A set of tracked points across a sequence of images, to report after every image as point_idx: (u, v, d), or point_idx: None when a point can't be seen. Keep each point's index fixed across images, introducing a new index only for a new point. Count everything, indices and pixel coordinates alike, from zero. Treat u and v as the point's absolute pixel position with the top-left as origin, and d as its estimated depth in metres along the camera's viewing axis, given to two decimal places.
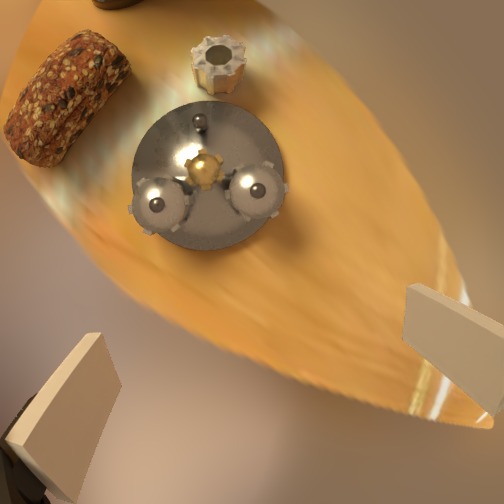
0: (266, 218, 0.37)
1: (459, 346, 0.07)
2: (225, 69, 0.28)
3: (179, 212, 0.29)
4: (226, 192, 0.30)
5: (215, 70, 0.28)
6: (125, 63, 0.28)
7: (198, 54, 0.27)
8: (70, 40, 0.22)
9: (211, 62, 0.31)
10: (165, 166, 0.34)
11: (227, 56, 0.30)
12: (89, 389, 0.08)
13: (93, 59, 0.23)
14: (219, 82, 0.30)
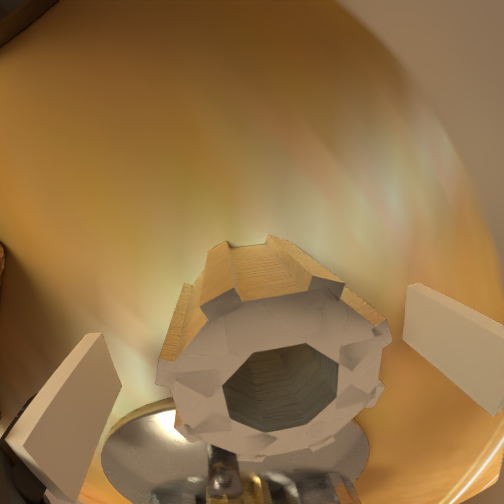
0: None
1: (459, 346, 0.07)
2: (305, 437, 0.08)
3: None
4: None
5: (269, 444, 0.07)
6: None
7: (193, 394, 0.07)
8: None
9: None
10: (163, 483, 0.14)
11: None
12: (89, 389, 0.08)
13: None
14: None
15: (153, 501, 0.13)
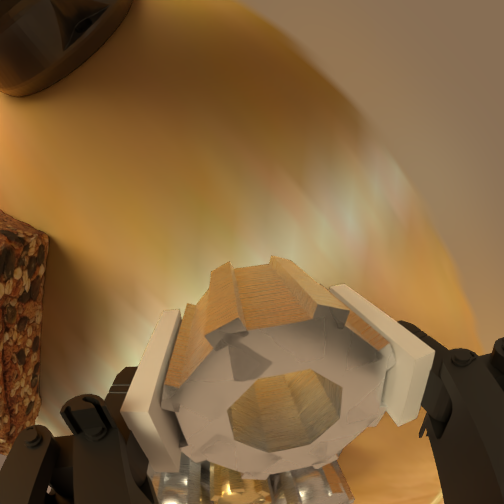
0: None
1: None
2: (308, 456, 0.07)
3: None
4: None
5: (273, 463, 0.07)
6: (23, 248, 0.12)
7: (198, 418, 0.06)
8: None
9: None
10: None
11: None
12: None
13: None
14: None
15: None
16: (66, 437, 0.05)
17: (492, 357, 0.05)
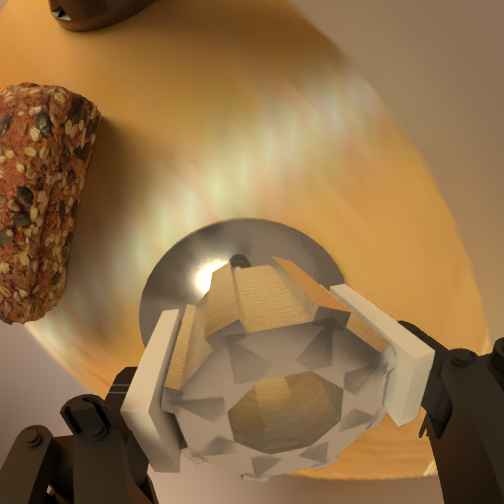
0: None
1: None
2: (309, 457, 0.07)
3: None
4: None
5: (274, 465, 0.07)
6: (89, 107, 0.17)
7: (198, 420, 0.06)
8: None
9: None
10: None
11: None
12: None
13: (33, 124, 0.13)
14: None
15: None
16: (66, 437, 0.05)
17: (492, 357, 0.05)
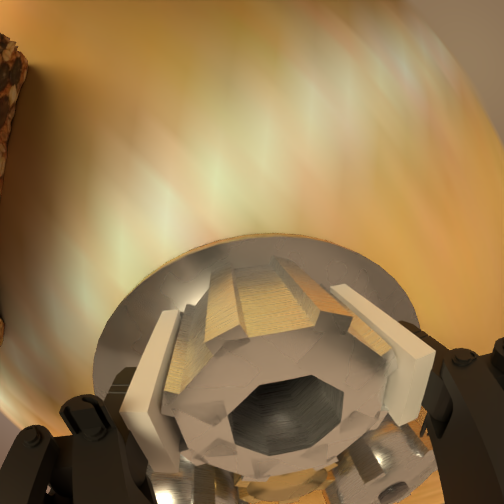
0: None
1: None
2: (309, 458, 0.07)
3: None
4: None
5: (274, 466, 0.07)
6: None
7: (199, 423, 0.06)
8: None
9: None
10: None
11: None
12: None
13: None
14: None
15: None
16: (65, 437, 0.05)
17: (493, 357, 0.05)
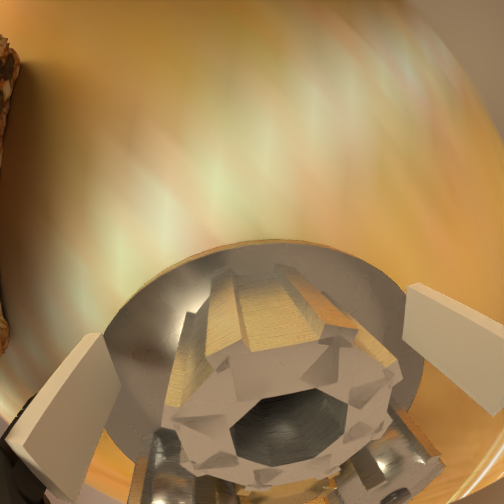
0: None
1: (459, 346, 0.07)
2: (311, 468, 0.07)
3: None
4: None
5: (276, 476, 0.07)
6: None
7: (200, 436, 0.06)
8: None
9: None
10: None
11: None
12: (89, 389, 0.08)
13: None
14: None
15: (156, 445, 0.12)
16: None
17: None
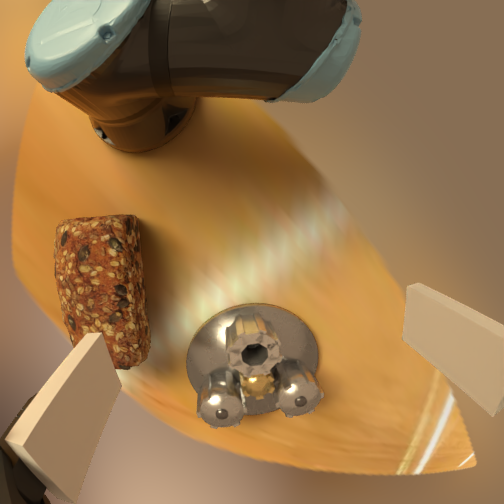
0: None
1: (459, 346, 0.07)
2: (261, 369, 0.33)
3: (239, 416, 0.34)
4: (276, 404, 0.34)
5: (252, 370, 0.33)
6: (132, 219, 0.31)
7: (234, 354, 0.32)
8: (61, 245, 0.27)
9: None
10: (217, 363, 0.39)
11: None
12: (89, 389, 0.08)
13: (108, 246, 0.27)
14: None
15: (210, 377, 0.38)
16: None
17: None
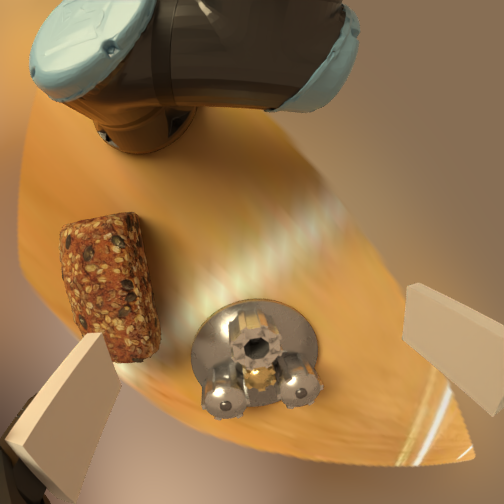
0: None
1: (459, 346, 0.07)
2: (263, 362, 0.35)
3: (242, 408, 0.36)
4: (278, 395, 0.36)
5: (254, 363, 0.35)
6: (132, 216, 0.33)
7: (237, 348, 0.34)
8: (66, 248, 0.28)
9: None
10: (221, 356, 0.41)
11: None
12: (89, 389, 0.08)
13: (111, 244, 0.28)
14: None
15: (214, 370, 0.40)
16: None
17: None
